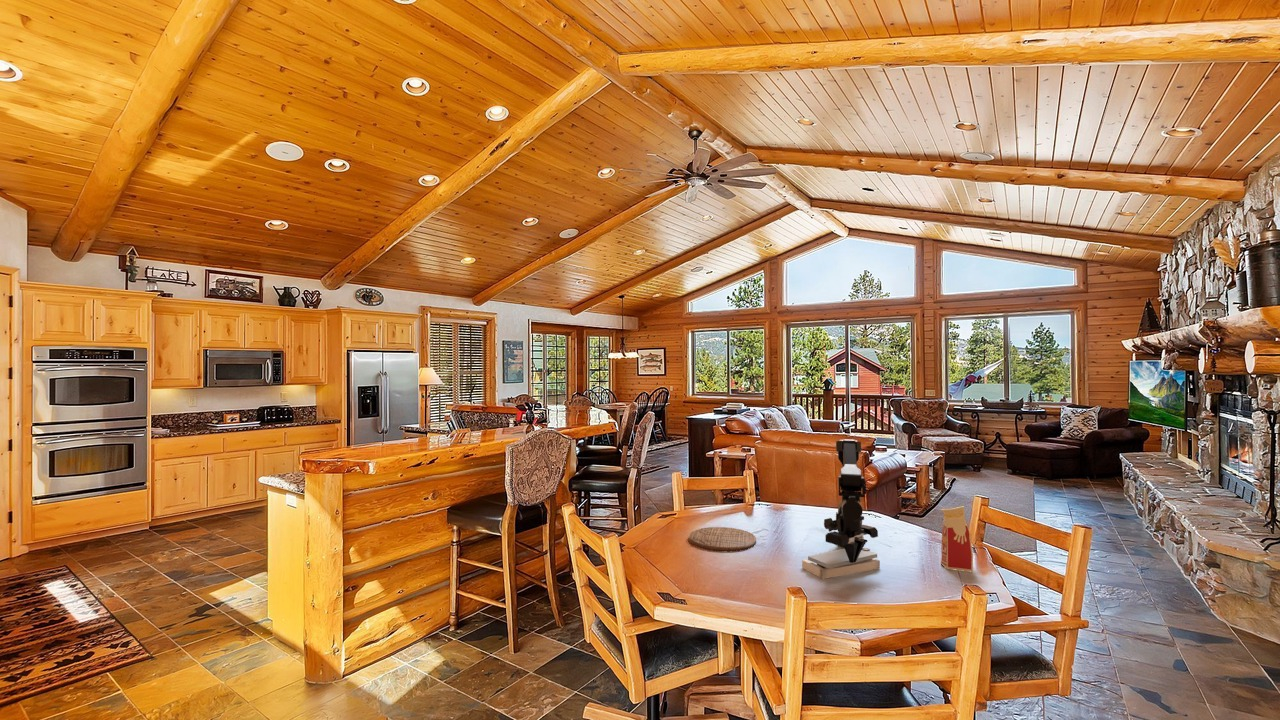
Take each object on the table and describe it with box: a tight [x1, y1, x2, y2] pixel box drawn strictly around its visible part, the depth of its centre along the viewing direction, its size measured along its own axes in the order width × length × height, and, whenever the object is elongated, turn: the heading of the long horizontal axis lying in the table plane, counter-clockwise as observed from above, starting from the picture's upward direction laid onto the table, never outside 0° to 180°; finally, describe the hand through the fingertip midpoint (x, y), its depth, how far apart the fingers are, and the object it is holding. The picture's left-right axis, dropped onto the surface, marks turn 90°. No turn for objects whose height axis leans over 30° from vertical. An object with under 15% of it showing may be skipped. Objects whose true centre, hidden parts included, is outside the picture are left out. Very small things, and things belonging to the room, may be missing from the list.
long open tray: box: [801, 558, 881, 580], centre depth 187 cm, size 23×10×3 cm, turn 112°
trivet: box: [688, 526, 757, 553], centre depth 216 cm, size 25×25×2 cm
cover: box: [807, 547, 878, 569], centre depth 186 cm, size 23×9×1 cm, turn 118°
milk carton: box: [940, 505, 974, 573], centre depth 189 cm, size 9×9×20 cm
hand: (852, 562), depth 181 cm, fingers closed
